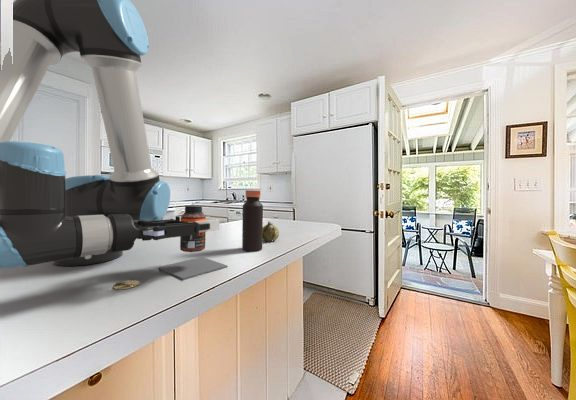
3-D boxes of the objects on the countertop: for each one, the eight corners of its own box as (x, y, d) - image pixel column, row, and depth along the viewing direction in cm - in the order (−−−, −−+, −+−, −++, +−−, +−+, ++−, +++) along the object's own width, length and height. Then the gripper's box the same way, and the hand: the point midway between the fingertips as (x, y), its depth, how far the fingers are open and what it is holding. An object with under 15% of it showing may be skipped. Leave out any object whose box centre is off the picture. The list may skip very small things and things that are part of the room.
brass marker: (110, 285, 49) (110, 284, 49) (134, 279, 53) (134, 278, 53) (117, 291, 47) (117, 290, 47) (142, 284, 50) (142, 283, 50)
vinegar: (238, 249, 81) (238, 190, 80) (253, 245, 86) (253, 190, 85) (251, 253, 76) (252, 190, 76) (266, 249, 82) (267, 190, 81)
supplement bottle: (196, 253, 57) (197, 206, 57) (174, 251, 58) (175, 205, 58) (209, 248, 63) (210, 205, 63) (189, 246, 64) (190, 204, 64)
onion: (283, 240, 96) (284, 221, 95) (269, 244, 90) (269, 222, 89) (270, 238, 101) (270, 219, 100) (255, 240, 95) (256, 220, 94)
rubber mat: (159, 268, 60) (159, 266, 60) (202, 258, 70) (202, 256, 70) (182, 280, 53) (182, 278, 53) (227, 267, 62) (227, 265, 62)
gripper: (93, 245, 52) (192, 233, 71) (123, 262, 41) (233, 242, 59) (93, 211, 52) (192, 207, 70) (123, 218, 40) (233, 211, 58)
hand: (211, 223), depth 64 cm, fingers closed on supplement bottle, 6 cm apart
